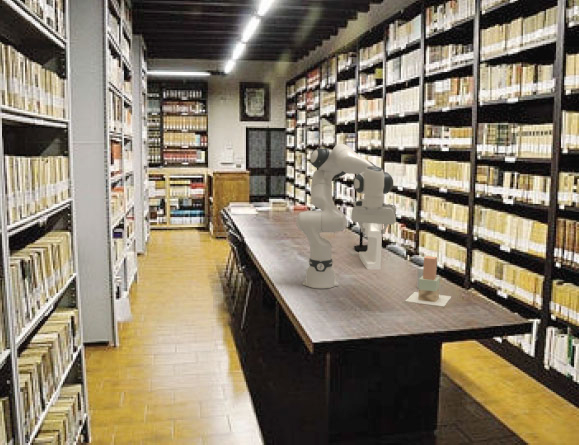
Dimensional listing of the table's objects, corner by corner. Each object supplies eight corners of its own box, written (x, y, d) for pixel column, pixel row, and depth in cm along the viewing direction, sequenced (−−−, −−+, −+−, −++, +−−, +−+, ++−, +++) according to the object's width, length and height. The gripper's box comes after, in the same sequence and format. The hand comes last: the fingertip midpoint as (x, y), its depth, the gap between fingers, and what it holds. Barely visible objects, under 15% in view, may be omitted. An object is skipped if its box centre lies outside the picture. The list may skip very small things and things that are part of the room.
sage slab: (418, 289, 262) (419, 279, 261) (422, 285, 269) (423, 275, 268) (435, 291, 259) (436, 281, 258) (439, 287, 266) (439, 277, 265)
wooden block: (418, 299, 263) (418, 289, 262) (422, 295, 270) (422, 285, 269) (435, 301, 259) (435, 291, 259) (438, 297, 266) (439, 287, 266)
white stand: (380, 269, 326) (382, 222, 322) (367, 269, 326) (368, 222, 322) (371, 257, 361) (372, 214, 357) (359, 256, 361) (360, 214, 357)
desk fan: (383, 254, 370) (385, 201, 365) (357, 254, 370) (358, 201, 365) (376, 246, 397) (378, 197, 392) (352, 246, 396) (353, 197, 391)
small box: (425, 285, 291) (425, 265, 289) (434, 287, 287) (435, 267, 286) (416, 288, 285) (417, 267, 284) (426, 290, 282) (426, 269, 280)
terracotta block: (423, 278, 262) (423, 257, 261) (425, 276, 266) (426, 256, 265) (433, 280, 260) (434, 259, 258) (435, 277, 264) (436, 257, 263)
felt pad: (405, 301, 261) (405, 300, 261) (414, 292, 277) (414, 291, 277) (444, 307, 253) (444, 306, 253) (451, 297, 269) (451, 296, 269)
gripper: (398, 203, 249) (397, 233, 251) (355, 200, 258) (354, 230, 260) (394, 204, 244) (393, 235, 246) (350, 202, 253) (349, 232, 255)
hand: (372, 232), depth 253 cm, fingers open, 8 cm apart
